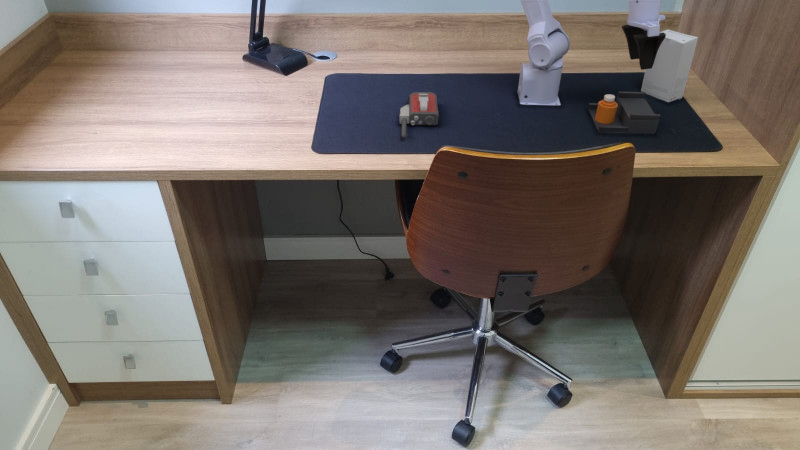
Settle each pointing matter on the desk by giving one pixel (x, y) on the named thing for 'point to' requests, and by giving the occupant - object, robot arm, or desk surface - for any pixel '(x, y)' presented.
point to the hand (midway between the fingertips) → (640, 63)
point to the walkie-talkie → (419, 110)
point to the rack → (629, 115)
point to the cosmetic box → (670, 67)
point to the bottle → (606, 109)
